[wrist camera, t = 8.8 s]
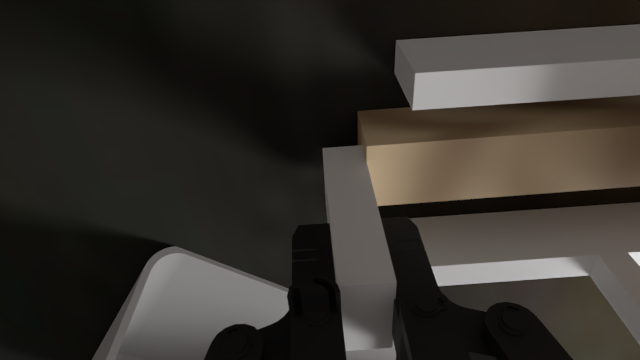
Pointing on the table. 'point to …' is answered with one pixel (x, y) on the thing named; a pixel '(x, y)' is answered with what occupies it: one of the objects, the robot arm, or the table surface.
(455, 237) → the white blocky frame
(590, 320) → the table surface
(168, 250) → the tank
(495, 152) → the rod
